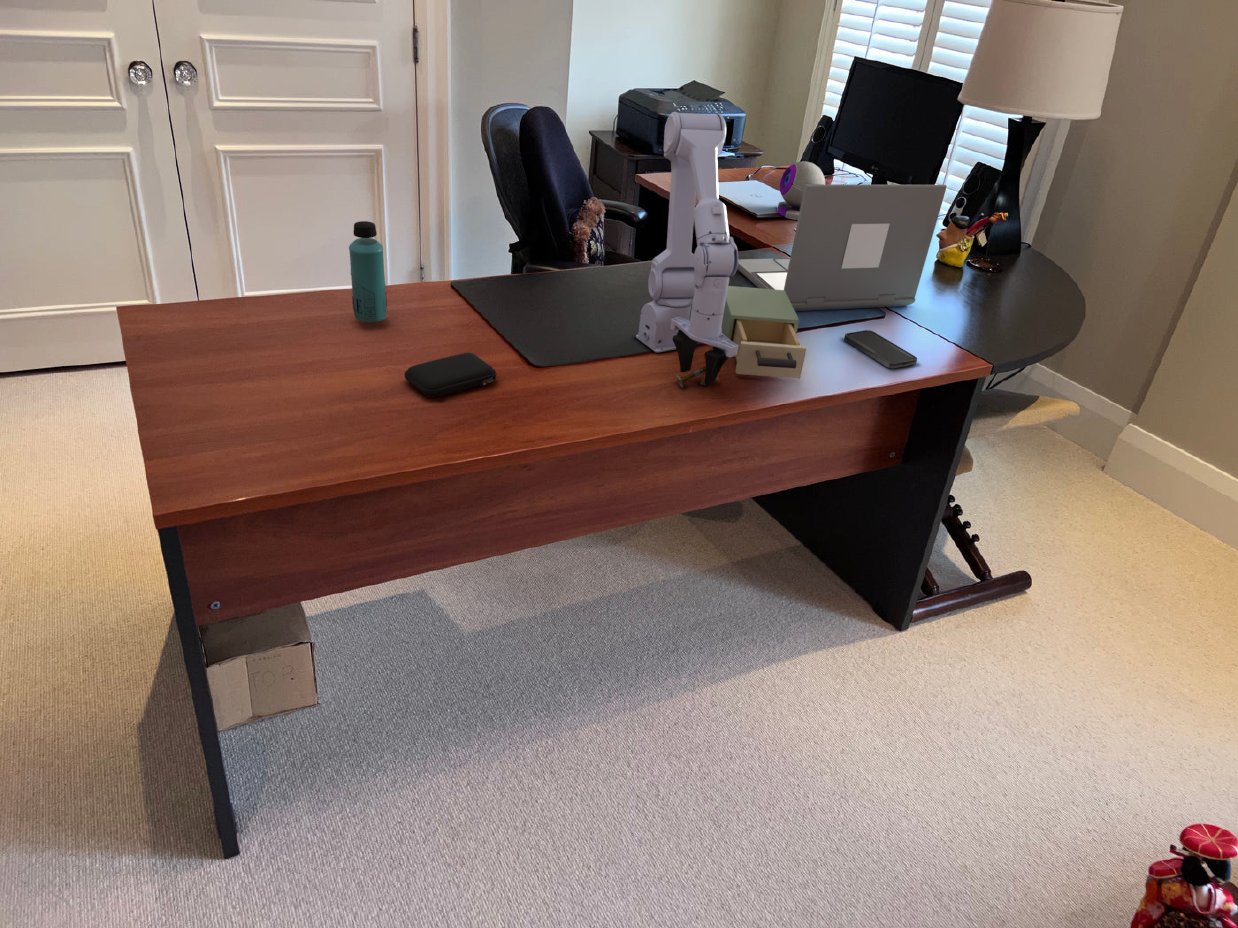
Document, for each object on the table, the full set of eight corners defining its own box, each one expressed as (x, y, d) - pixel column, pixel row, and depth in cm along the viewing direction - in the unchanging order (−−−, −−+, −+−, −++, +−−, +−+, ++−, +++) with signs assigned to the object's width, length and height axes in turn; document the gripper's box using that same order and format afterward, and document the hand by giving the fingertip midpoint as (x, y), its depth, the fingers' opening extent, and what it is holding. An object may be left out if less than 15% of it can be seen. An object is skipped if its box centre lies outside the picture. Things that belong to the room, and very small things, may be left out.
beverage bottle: (394, 321, 179) (390, 222, 169) (373, 333, 174) (367, 231, 163) (367, 313, 181) (362, 215, 171) (346, 324, 176) (338, 223, 165)
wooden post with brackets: (724, 381, 169) (718, 361, 166) (685, 398, 168) (679, 379, 166) (720, 376, 170) (715, 357, 167) (682, 393, 170) (675, 374, 167)
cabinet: (791, 357, 183) (799, 320, 178) (724, 352, 182) (731, 315, 177) (777, 325, 196) (784, 290, 191) (715, 320, 195) (721, 285, 190)
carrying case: (431, 406, 152) (504, 386, 161) (430, 390, 151) (504, 370, 159) (400, 380, 159) (472, 362, 168) (399, 365, 157) (472, 347, 166)
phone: (870, 329, 195) (919, 359, 185) (868, 334, 196) (918, 363, 185) (842, 334, 192) (891, 364, 181) (841, 338, 192) (889, 369, 182)
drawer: (805, 391, 168) (812, 360, 165) (739, 386, 168) (745, 355, 164) (786, 345, 185) (792, 317, 182) (726, 341, 184) (731, 312, 181)
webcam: (770, 205, 273) (780, 154, 265) (811, 208, 275) (822, 158, 266) (781, 219, 262) (791, 167, 254) (823, 222, 264) (835, 170, 256)
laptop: (855, 266, 233) (883, 153, 218) (913, 307, 212) (948, 186, 197) (732, 269, 222) (752, 151, 207) (781, 313, 202) (807, 186, 186)
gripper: (753, 318, 159) (740, 386, 166) (692, 291, 167) (683, 357, 175) (728, 327, 155) (716, 397, 162) (666, 298, 163) (657, 366, 170)
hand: (697, 377), depth 168 cm, fingers open, 5 cm apart
